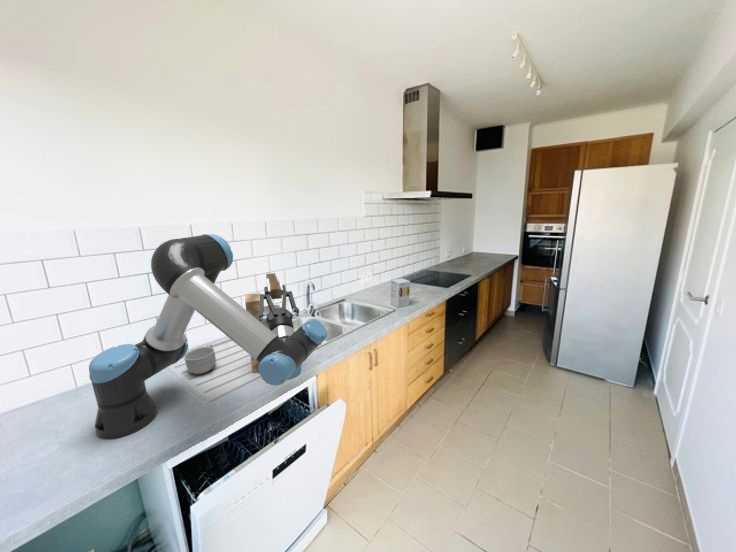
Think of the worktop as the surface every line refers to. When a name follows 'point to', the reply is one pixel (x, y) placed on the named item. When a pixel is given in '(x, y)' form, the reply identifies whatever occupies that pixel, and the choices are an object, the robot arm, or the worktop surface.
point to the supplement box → (400, 292)
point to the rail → (274, 286)
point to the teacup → (200, 359)
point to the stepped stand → (254, 308)
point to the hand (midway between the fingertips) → (273, 280)
